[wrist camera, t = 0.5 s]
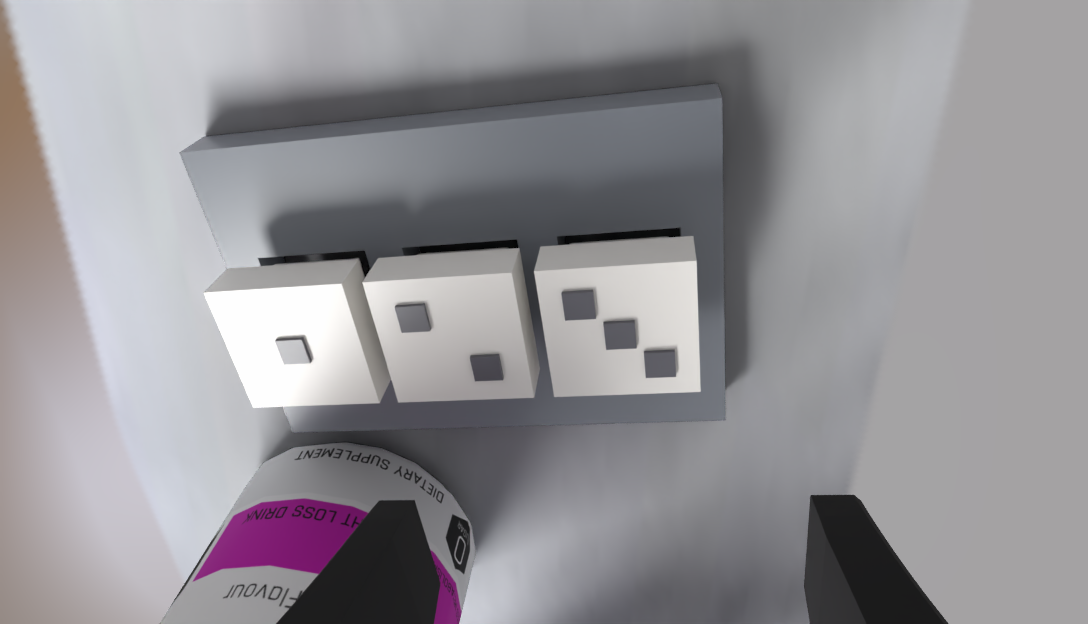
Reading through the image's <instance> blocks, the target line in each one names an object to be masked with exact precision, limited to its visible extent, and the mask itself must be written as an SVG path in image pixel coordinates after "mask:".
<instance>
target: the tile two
mask: <svg viewBox="0 0 1088 624" xmlns="http://www.w3.org/2000/svg"><path fill="white" fill-rule="evenodd" d="M362 284H363V287H364V290H365V294H366V297H367V300H368V304H369V307H370V310H371V314H372V317H373V320H374V324H375V327H376V330H377V334H378V337H379V340H380V343H381V347H382V350H383V353H384V357H385V360H386V363H387V367H388V370H389V373H390V377H391V380H392V383H393V387H394V390H395V393H396V397H397V400H398V403H400V402H429V401H457V400H486V399H514V398H534V396H535V391H536V386H537V381H538V376H539V371H540V366H539V360H538V354H537V348H536V342H535V337H534V331H533V325H532V319H531V313H530V307H529V301H528V295H527V289H526V283H525V278H524V272H523V266H522V260H521V254H520V248H513V249H508V247H507V248H493V249H479V250H464V251H450V252H436V253H422V254H417V255H413V256H399V257H385V258H378V259H377V260H376V262H375V264H374V265H373V267H372V268H371V270H370V271H369V273H368V274H367V276H366V277H365V279H364V280H363V282H362Z"/></svg>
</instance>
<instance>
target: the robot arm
mask: <svg viewBox="0 0 1088 624" xmlns="http://www.w3.org/2000/svg"><path fill="white" fill-rule="evenodd" d="M440 584H441V583H440V580H439V576H438V573H437V570H436V567H435V564H434V560H433V557H432V554H431V551H430V548H429V544H428V541H427V538H426V535H425V532H424V528H423V525H422V522H421V519H420V516H419V512H418V509H417V506H416V503H415V500H379V501H378V502H377V504H376V505H375V506H374V507H373V508H372V509H371V510H370V512H369V513H368V514H367V515H366V517H365V518H364V519H363V520H362V521H361V523H360V524H359V525H358V526H357V528H356V529H355V530H354V531H353V533H352V534H351V535H350V536H349V538H348V539H347V540H346V541H345V542H344V544H343V545H342V546H341V547H340V549H339V550H338V551H337V552H336V554H335V555H334V556H333V557H332V558H331V560H330V561H329V562H328V563H327V565H326V566H325V567H324V568H323V569H322V571H321V572H320V573H319V574H318V575H317V577H316V578H315V579H314V580H313V581H312V582H311V584H310V585H309V586H308V587H307V588H306V589H305V591H304V592H303V593H302V594H301V595H300V596H299V598H298V599H297V600H296V601H295V602H294V604H293V605H292V606H291V607H290V608H289V609H288V611H287V612H286V613H285V614H284V615H283V616H282V617H281V618H280V620H279V621H278V622H277V623H276V624H434V620H435V614H436V608H437V602H438V596H439V590H440ZM804 588H805V595H806V601H807V607H808V613H809V619H810V624H948V623H947V621H946V620H945V619H944V617H943V616H942V615H941V614H940V612H939V611H938V610H937V609H936V607H935V606H934V605H933V603H932V602H931V601H930V600H929V598H928V597H927V596H926V594H925V593H924V592H923V591H922V589H921V588H920V587H919V585H918V584H917V582H916V581H915V580H914V579H913V577H912V576H911V574H910V573H909V572H908V570H907V569H906V567H905V566H904V565H903V563H902V562H901V560H900V559H899V558H898V556H897V555H896V553H895V552H894V551H893V549H892V548H891V546H890V545H889V543H888V542H887V540H886V539H885V537H884V536H883V534H882V533H881V532H880V530H879V528H878V527H877V525H876V524H875V522H874V521H873V519H872V518H871V516H870V515H869V513H868V511H867V510H866V508H865V507H864V505H863V503H862V502H861V500H860V499H858V498H857V497H856V496H855V495H811V497H810V511H809V525H808V539H807V553H806V567H805V581H804Z"/></svg>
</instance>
